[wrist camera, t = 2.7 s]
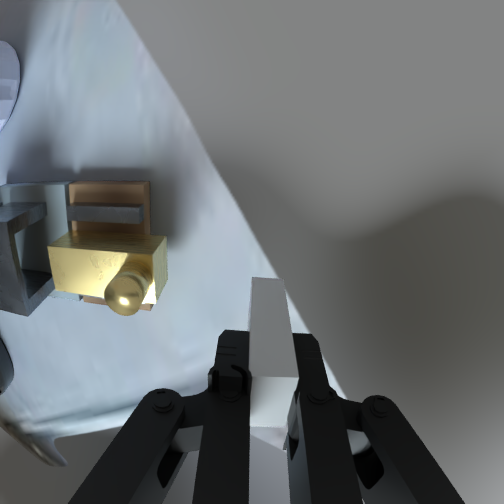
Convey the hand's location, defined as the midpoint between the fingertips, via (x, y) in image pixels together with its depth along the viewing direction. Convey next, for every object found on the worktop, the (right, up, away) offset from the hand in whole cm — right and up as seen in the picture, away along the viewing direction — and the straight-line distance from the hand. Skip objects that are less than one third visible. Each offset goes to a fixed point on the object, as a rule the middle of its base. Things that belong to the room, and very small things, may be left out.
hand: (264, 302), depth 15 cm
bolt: (-9, +2, +4) cm, 10 cm away
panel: (-14, +3, +5) cm, 16 cm away
